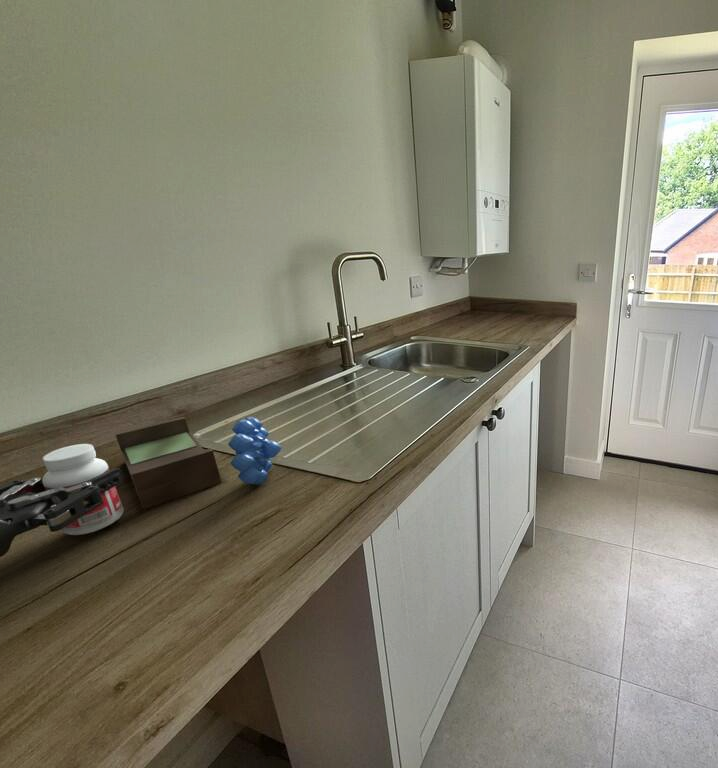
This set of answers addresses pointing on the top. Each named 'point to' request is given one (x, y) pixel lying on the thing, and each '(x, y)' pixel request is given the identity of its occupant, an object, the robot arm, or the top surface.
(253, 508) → the top surface
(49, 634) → the top surface
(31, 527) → the robot arm
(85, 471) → the pill bottle
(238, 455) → the grapes
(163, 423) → the brown two-tone box
